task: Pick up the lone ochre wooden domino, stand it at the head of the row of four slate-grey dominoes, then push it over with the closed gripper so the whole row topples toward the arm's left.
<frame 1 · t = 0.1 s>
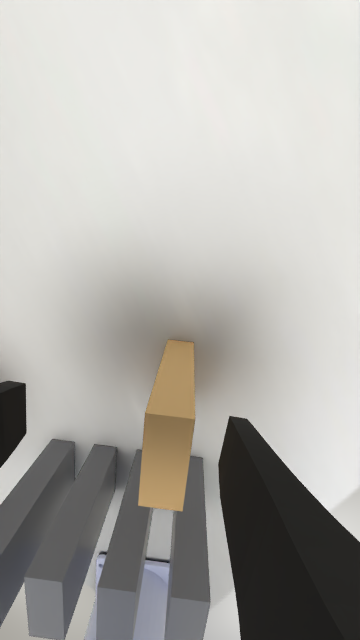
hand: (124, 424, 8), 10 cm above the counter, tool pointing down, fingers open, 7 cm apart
slate domino 1: (188, 478, 21), on the counter
ochre domino: (177, 369, 19), on the counter
slate domino 2: (146, 472, 21), on the counter
slate domino 4: (63, 462, 21), on the counter
slate domino 3: (104, 467, 21), on the counter
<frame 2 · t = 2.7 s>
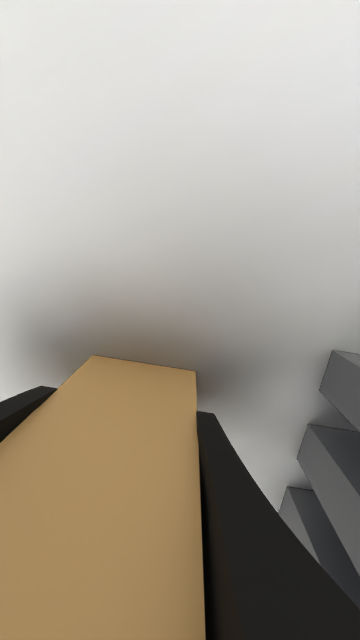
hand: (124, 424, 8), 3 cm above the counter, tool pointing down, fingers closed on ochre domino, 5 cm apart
ochre domino: (141, 382, 11), on the counter, touching gripper
slate domino 2: (351, 449, 11), on the counter
slate domino 3: (327, 509, 12), on the counter
when the fingers open (3 cm above the counter, at t = 6.4 s): ochre domino stays where it is, on the counter.
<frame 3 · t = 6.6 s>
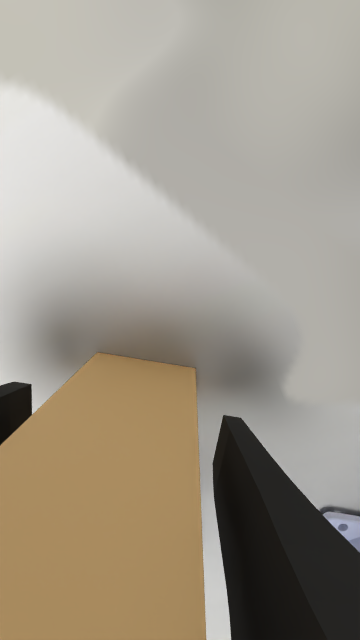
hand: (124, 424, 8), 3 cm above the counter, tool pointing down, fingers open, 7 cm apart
ochre domino: (143, 378, 12), on the counter
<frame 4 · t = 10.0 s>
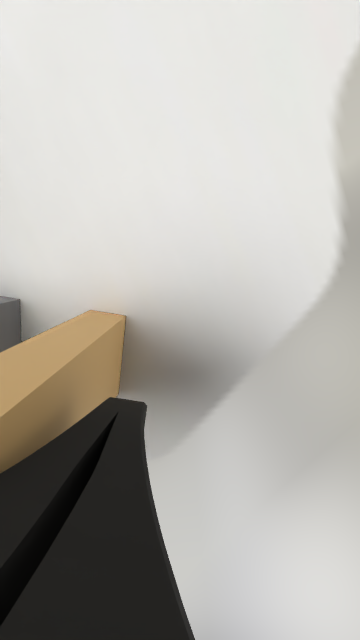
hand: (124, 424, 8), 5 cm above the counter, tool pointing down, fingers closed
slate domino 1: (3, 337, 14), on the counter
ochre domino: (104, 353, 13), on the counter, touching gripper
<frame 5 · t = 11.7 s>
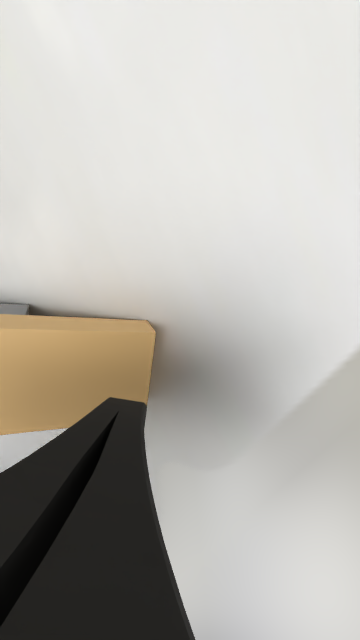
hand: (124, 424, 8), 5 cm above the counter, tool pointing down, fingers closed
slate domino 1: (27, 352, 13), point 1 cm above the counter, tilted 60°, touching ochre domino
ochre domino: (146, 368, 13), point 1 cm above the counter, tilted 68°, touching slate domino 1
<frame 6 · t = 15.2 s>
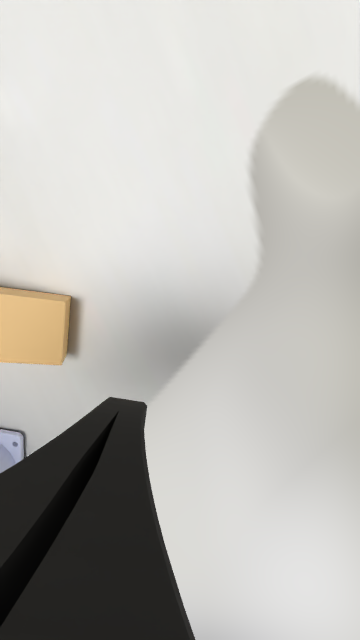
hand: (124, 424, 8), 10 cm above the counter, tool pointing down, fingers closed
ochre domino: (66, 329, 18), point 1 cm above the counter, tilted 73°, touching slate domino 1
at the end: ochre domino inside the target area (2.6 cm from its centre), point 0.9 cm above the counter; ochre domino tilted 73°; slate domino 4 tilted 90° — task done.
